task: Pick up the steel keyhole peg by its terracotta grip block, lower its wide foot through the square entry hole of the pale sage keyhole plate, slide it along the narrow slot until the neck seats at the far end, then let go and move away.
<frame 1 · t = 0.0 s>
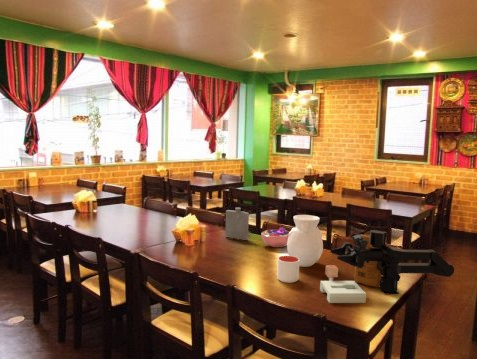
hand: (333, 254, 174), 17 cm above the table, tool horizontal, fingers open, 9 cm apart
keyhole plate: (341, 295, 171), on the table
hip flask: (236, 238, 260), on the table
coffee package: (367, 282, 188), on the table
peg: (330, 286, 182), on the table
cell model: (276, 246, 244), on the table
white vase: (304, 264, 212), on the table
cup: (287, 280, 189), on the table
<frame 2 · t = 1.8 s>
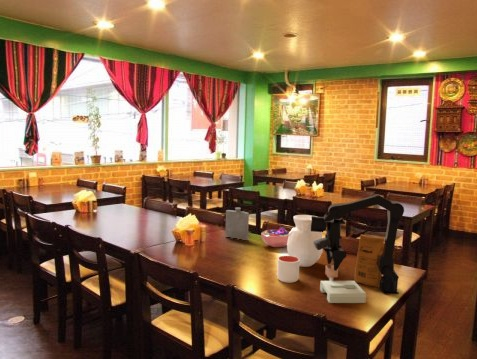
hand: (332, 267, 181), 9 cm above the table, tool pointing down, fingers open, 9 cm apart
nothing on the table moved.
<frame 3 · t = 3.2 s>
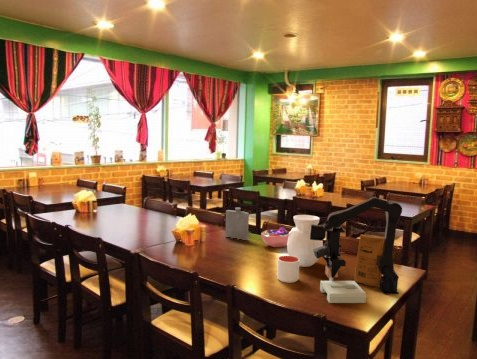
hand: (331, 275, 181), 5 cm above the table, tool pointing down, fingers closed on peg, 4 cm apart
peg: (330, 286, 182), on the table, touching gripper
everything else where it was.
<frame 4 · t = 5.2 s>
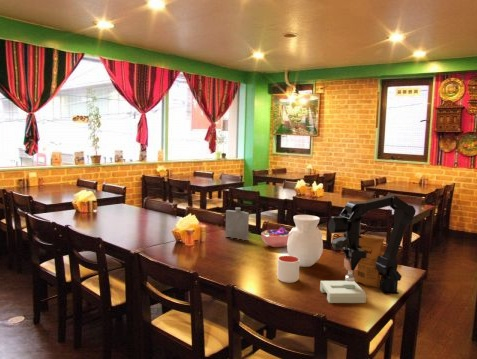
hand: (350, 268, 171), 12 cm above the table, tool pointing down, fingers closed on peg, 4 cm apart
peg: (349, 279, 171), point 7 cm above the table, touching gripper
when the fingers open (5 cm above the table, at t = 10.5 s): peg stays where it is, on the table.
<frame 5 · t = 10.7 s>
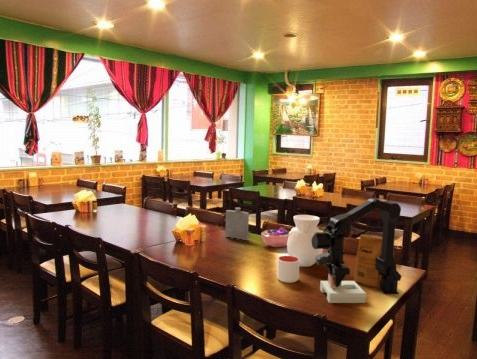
hand: (334, 283, 170), 5 cm above the table, tool pointing down, fingers open, 6 cm apart
peg: (333, 296, 171), on the table
everything else where it was.
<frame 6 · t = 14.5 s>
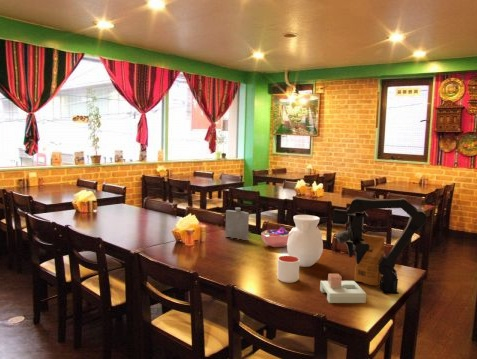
hand: (354, 260, 181), 12 cm above the table, tool pointing down, fingers open, 9 cm apart
coffee package: (367, 282, 188), on the table, touching arm
everything else where it was.
at the end: peg 0.1 cm from the target spot on the keyhole plate, point 0.0 cm above the keyhole plate's base; peg tilted 0°; the gripper is holding nothing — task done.
